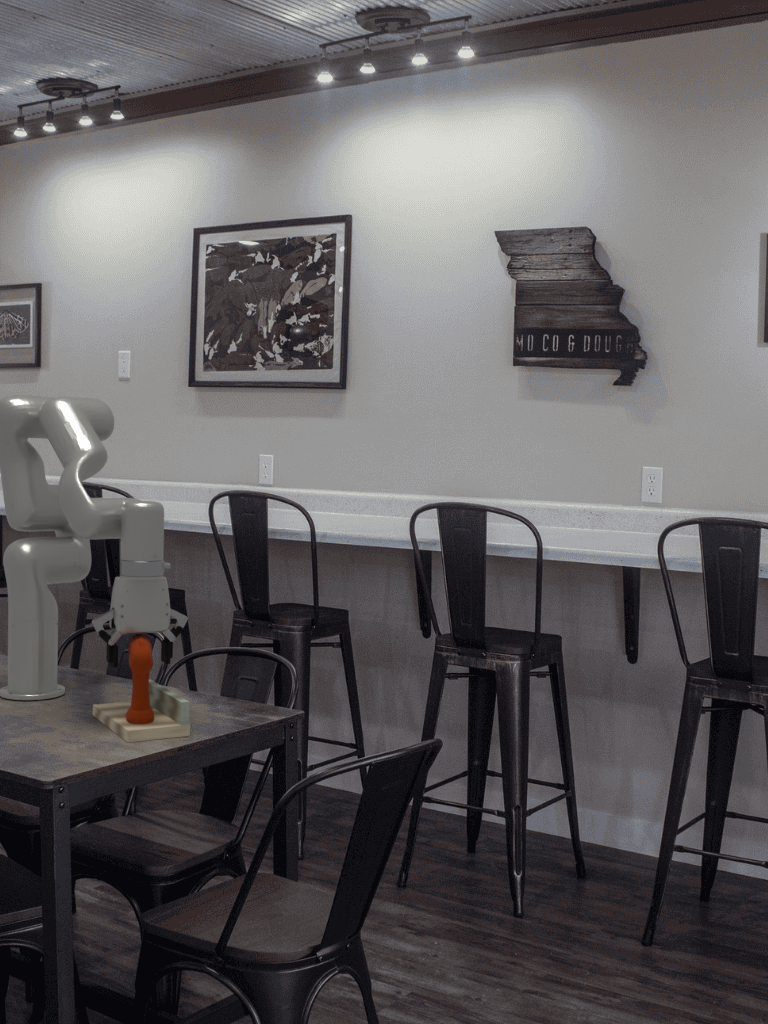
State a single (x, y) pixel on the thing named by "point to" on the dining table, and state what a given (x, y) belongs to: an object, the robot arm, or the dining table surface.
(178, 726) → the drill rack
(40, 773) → the dining table surface
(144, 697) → the toy drill
